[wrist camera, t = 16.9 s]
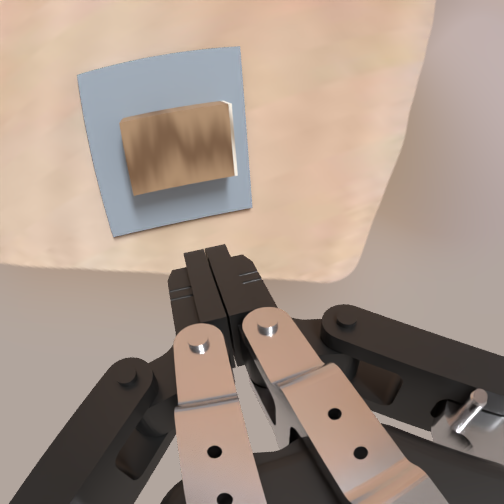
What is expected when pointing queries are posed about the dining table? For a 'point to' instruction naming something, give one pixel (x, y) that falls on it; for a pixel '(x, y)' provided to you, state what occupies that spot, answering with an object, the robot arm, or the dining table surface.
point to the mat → (154, 99)
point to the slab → (179, 146)
